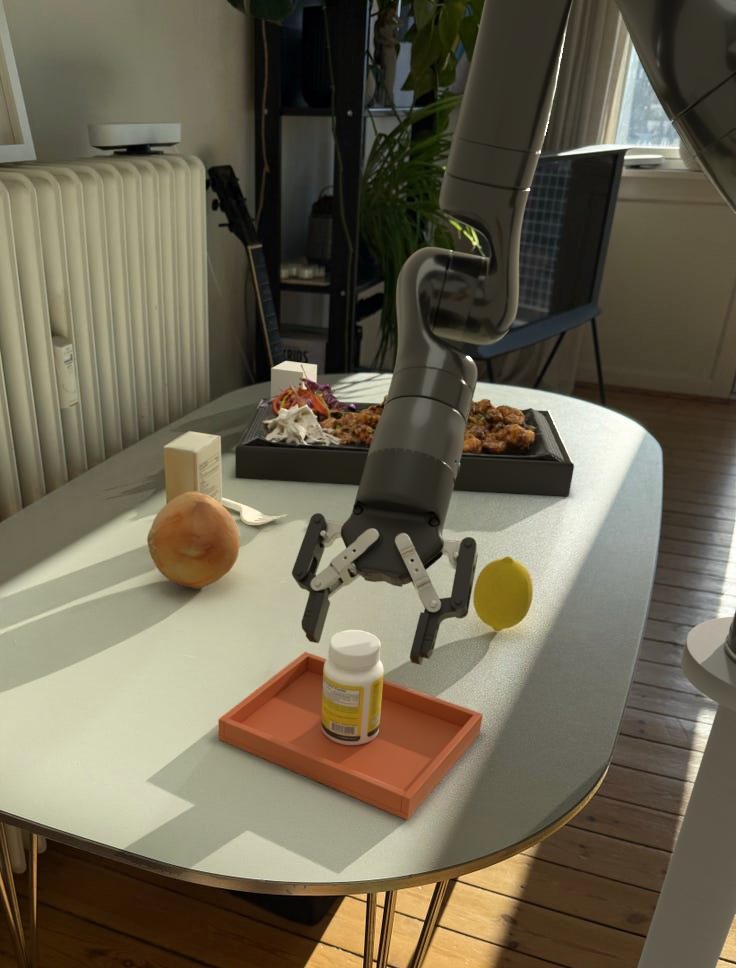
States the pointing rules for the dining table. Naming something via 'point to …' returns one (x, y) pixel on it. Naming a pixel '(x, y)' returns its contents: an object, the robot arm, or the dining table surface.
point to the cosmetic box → (193, 465)
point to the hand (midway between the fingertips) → (362, 650)
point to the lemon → (503, 593)
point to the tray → (353, 768)
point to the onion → (194, 540)
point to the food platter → (350, 428)
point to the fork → (249, 513)
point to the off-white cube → (291, 376)
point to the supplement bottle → (352, 688)
